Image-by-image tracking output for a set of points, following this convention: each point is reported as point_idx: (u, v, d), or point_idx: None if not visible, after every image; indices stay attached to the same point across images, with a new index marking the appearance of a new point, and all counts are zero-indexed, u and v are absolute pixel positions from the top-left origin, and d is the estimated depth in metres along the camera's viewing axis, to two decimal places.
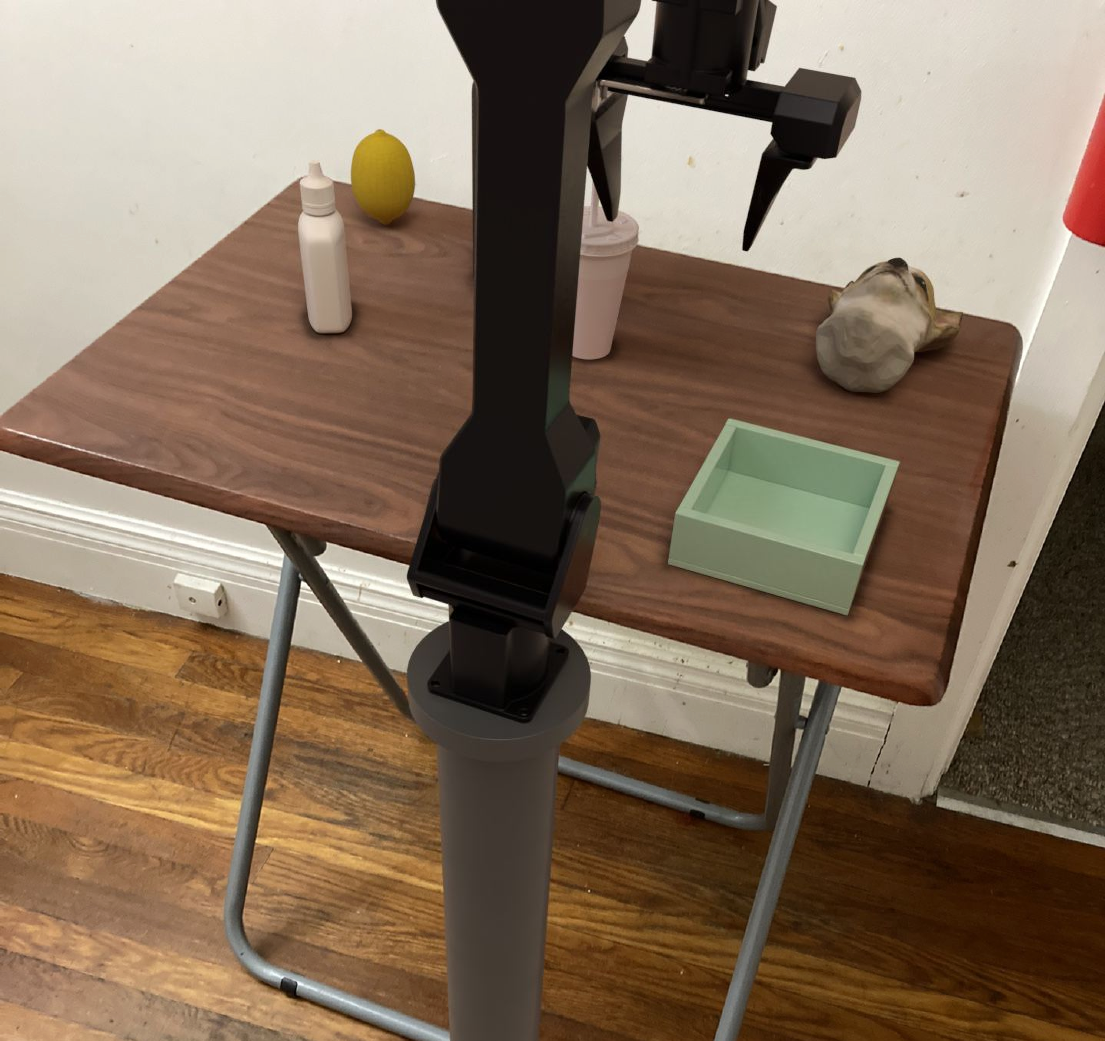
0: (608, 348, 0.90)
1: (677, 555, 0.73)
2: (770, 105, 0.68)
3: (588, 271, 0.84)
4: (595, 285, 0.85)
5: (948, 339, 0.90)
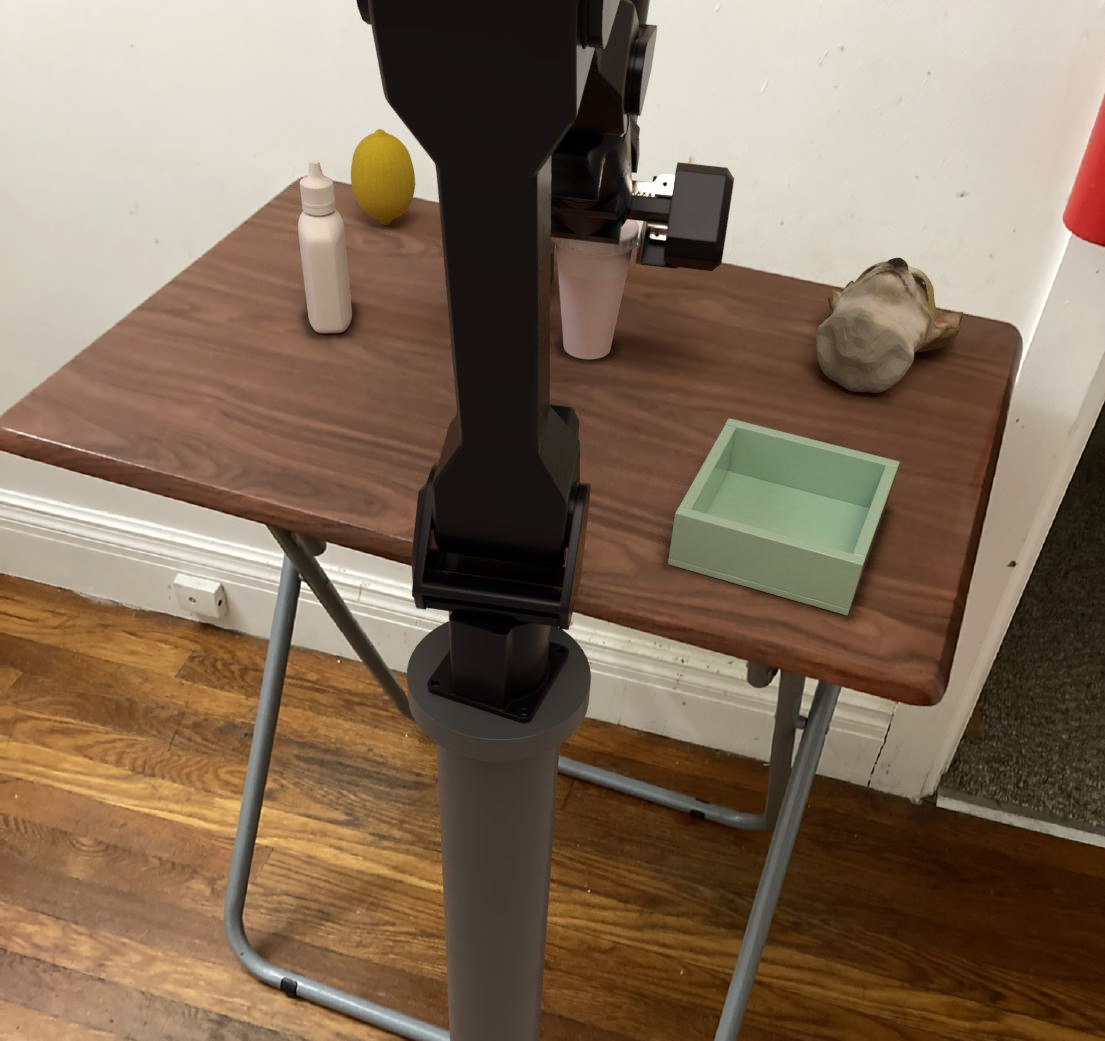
0: (608, 348, 0.90)
1: (677, 555, 0.73)
2: (657, 218, 0.78)
3: (587, 271, 0.84)
4: (595, 285, 0.85)
5: (948, 339, 0.90)
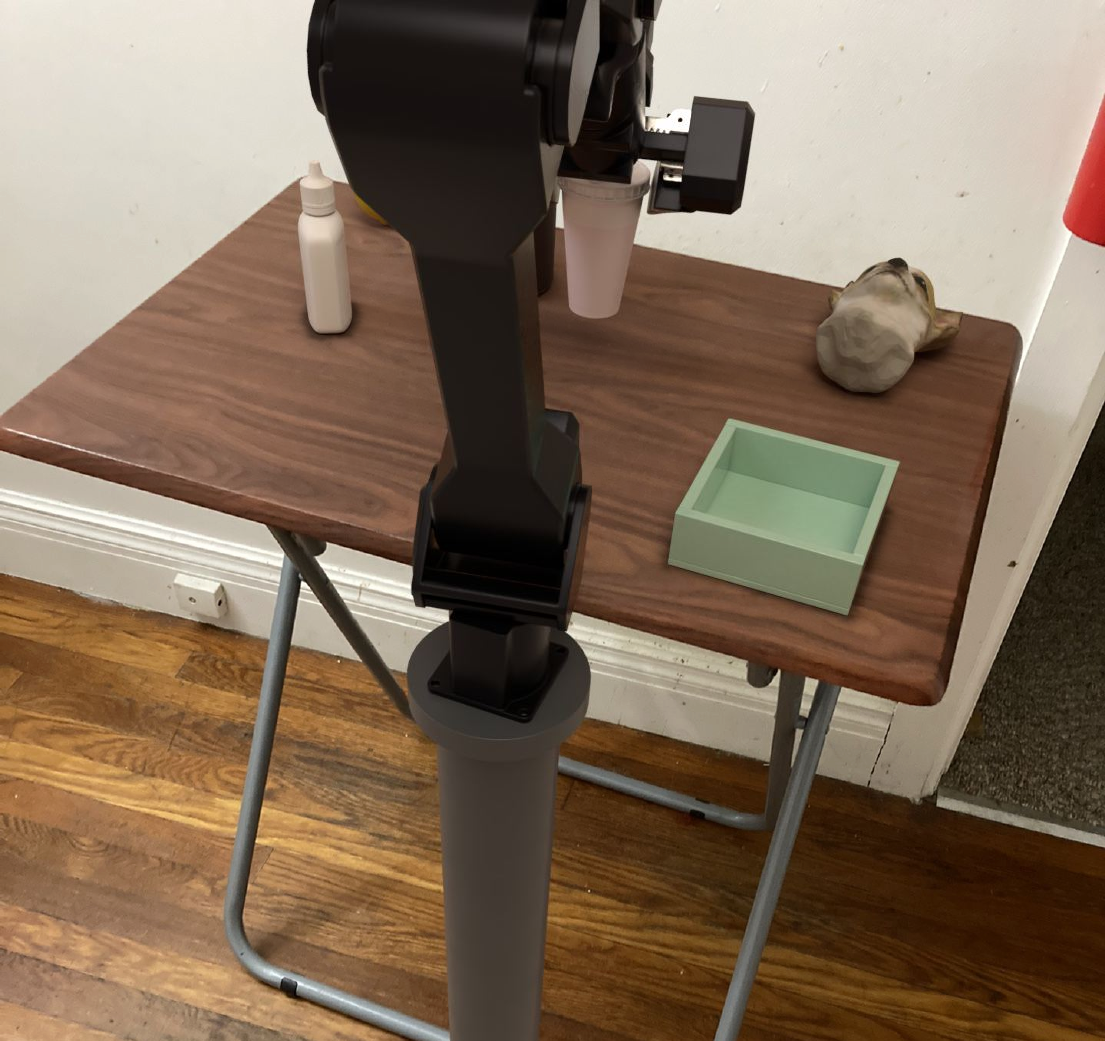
0: (616, 307, 0.84)
1: (677, 555, 0.73)
2: (672, 156, 0.72)
3: (596, 219, 0.78)
4: (603, 235, 0.79)
5: (948, 339, 0.90)
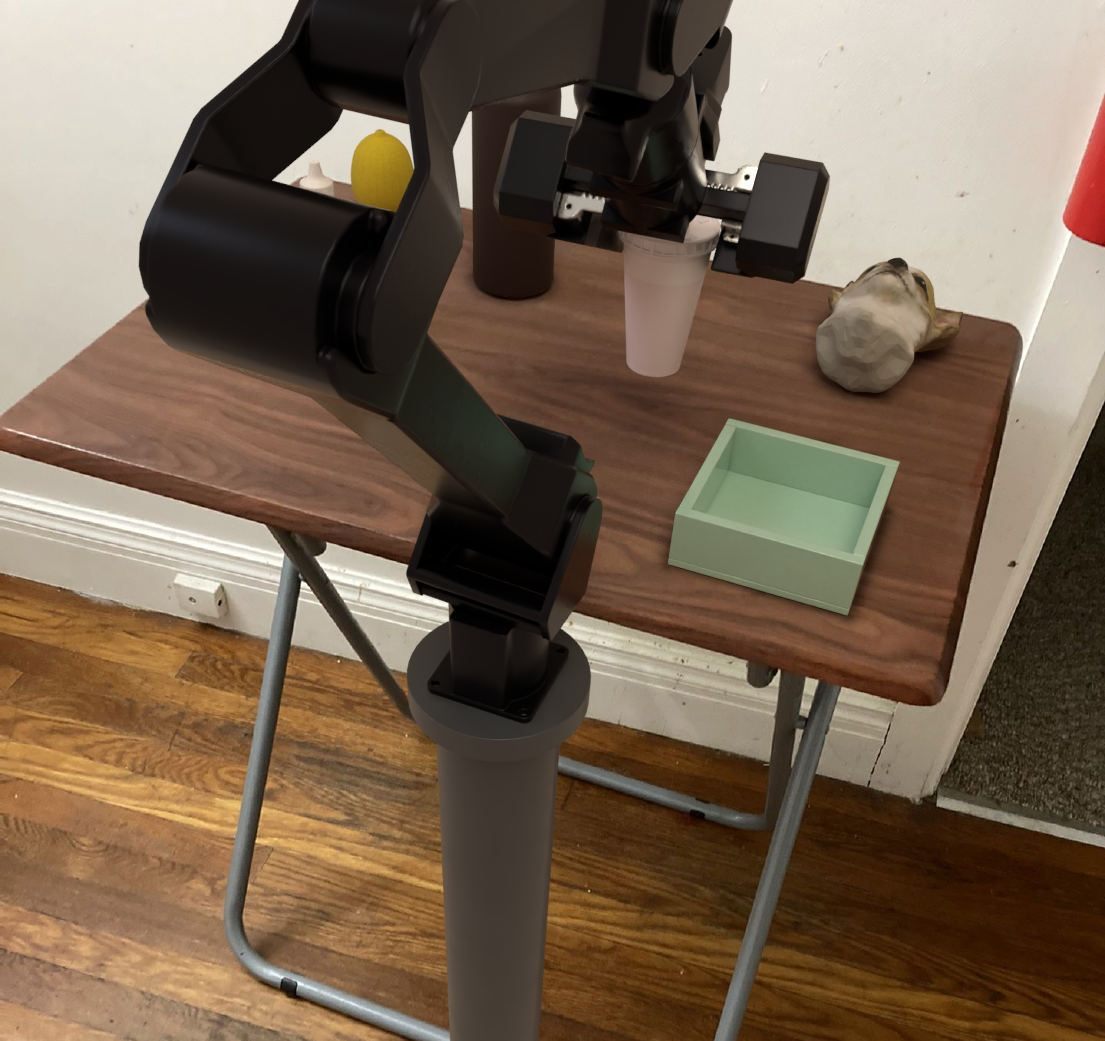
0: (676, 366, 0.78)
1: (677, 555, 0.73)
2: (733, 216, 0.66)
3: (654, 274, 0.72)
4: (662, 291, 0.73)
5: (948, 339, 0.90)
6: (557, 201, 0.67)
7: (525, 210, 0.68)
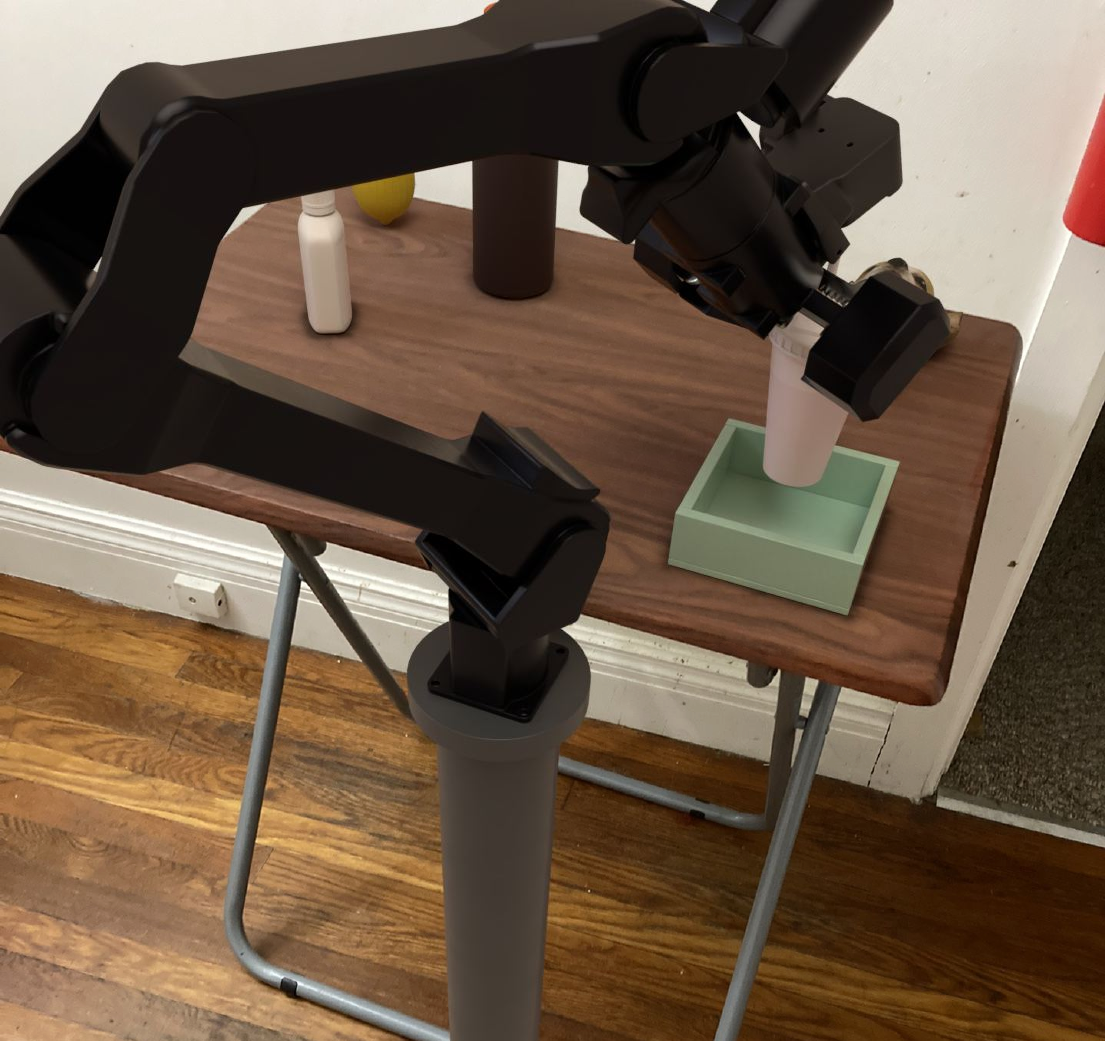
0: (804, 480, 0.70)
1: (677, 555, 0.73)
2: None
3: (782, 371, 0.65)
4: (788, 392, 0.66)
5: (948, 339, 0.90)
6: None
7: (651, 261, 0.64)
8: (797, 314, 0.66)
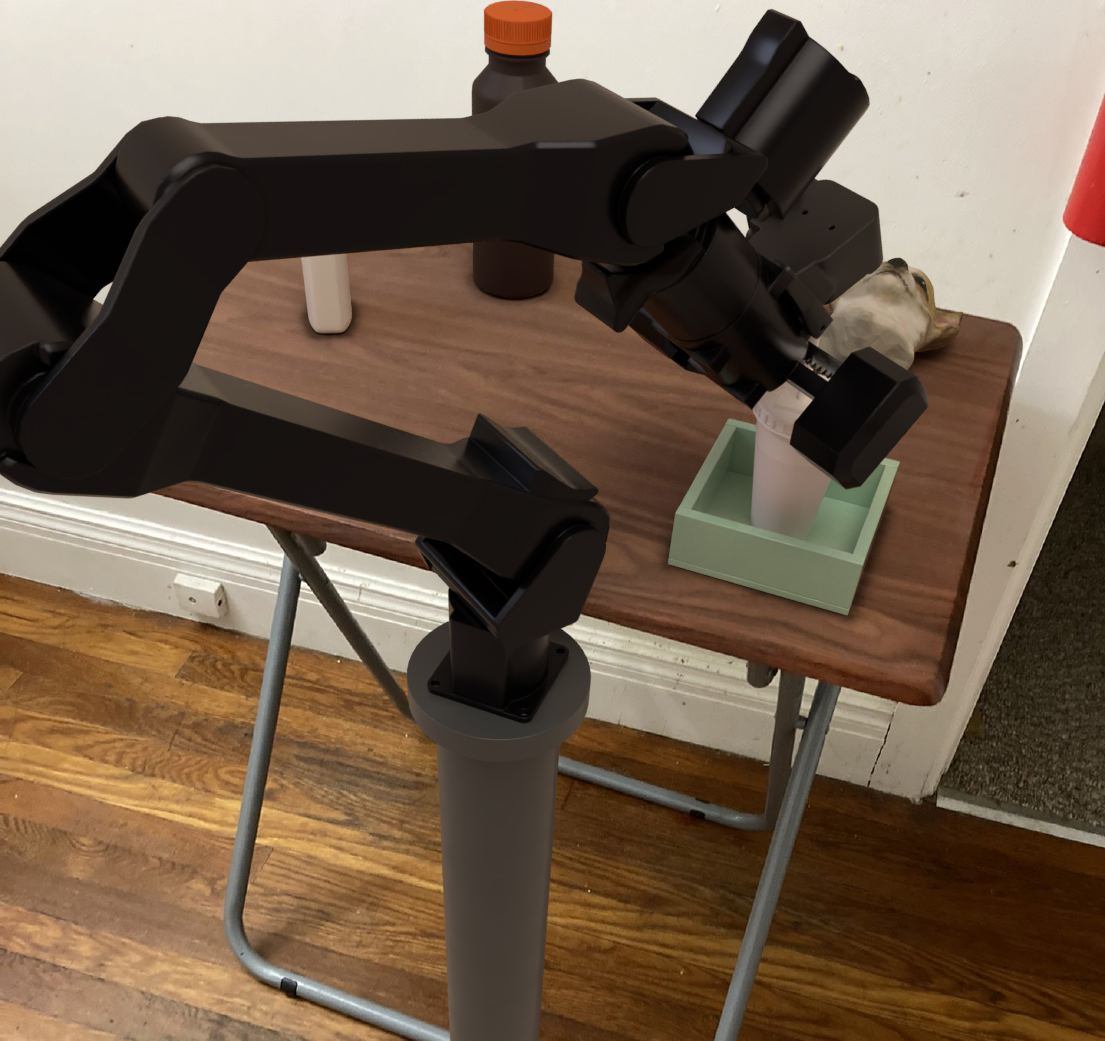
0: None
1: (677, 555, 0.73)
2: None
3: (766, 444, 0.69)
4: (771, 463, 0.70)
5: (948, 339, 0.90)
6: None
7: (645, 329, 0.67)
8: (780, 390, 0.69)
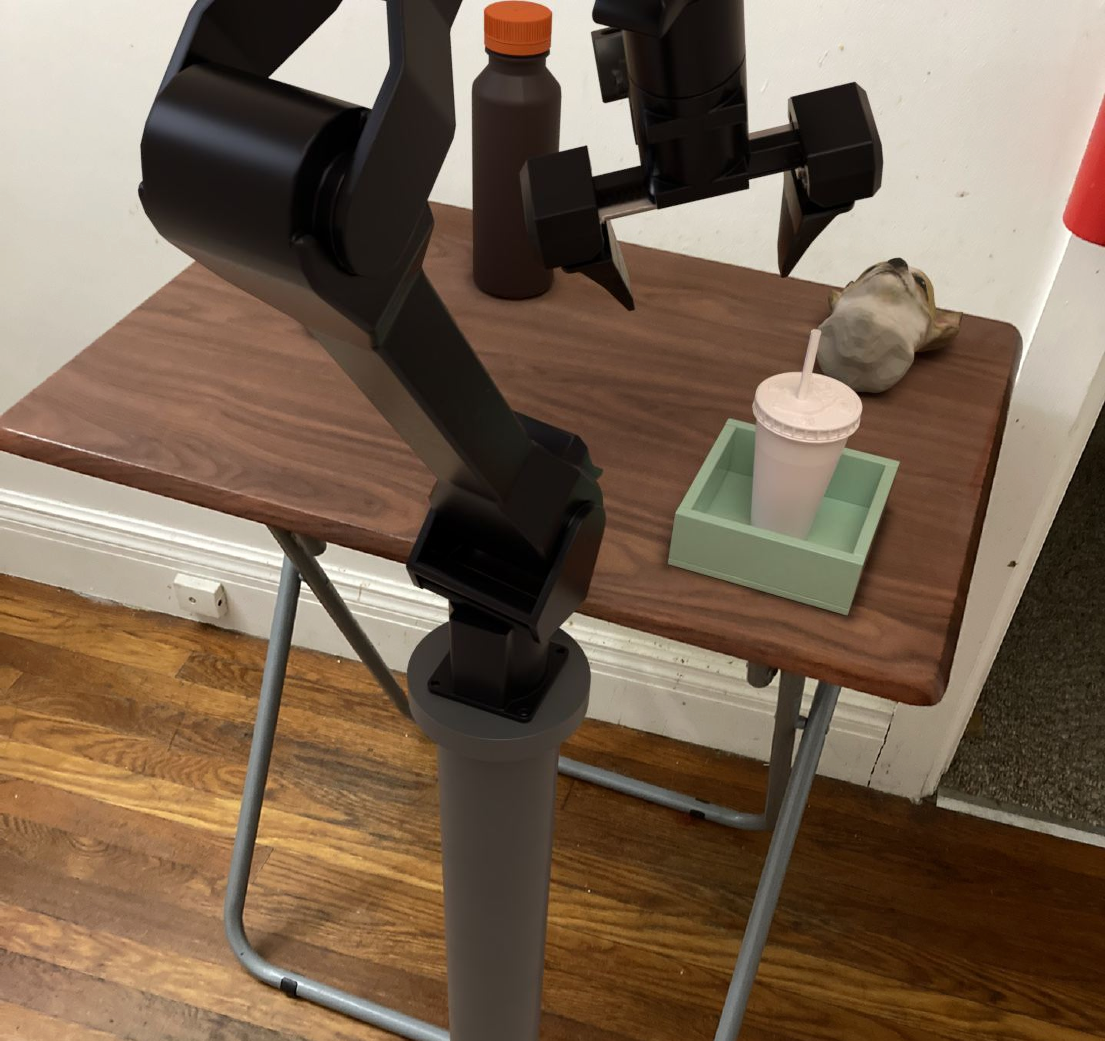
0: None
1: (677, 555, 0.73)
2: (784, 158, 0.61)
3: (766, 444, 0.69)
4: (771, 463, 0.70)
5: (948, 339, 0.90)
6: None
7: (568, 228, 0.61)
8: (780, 390, 0.69)
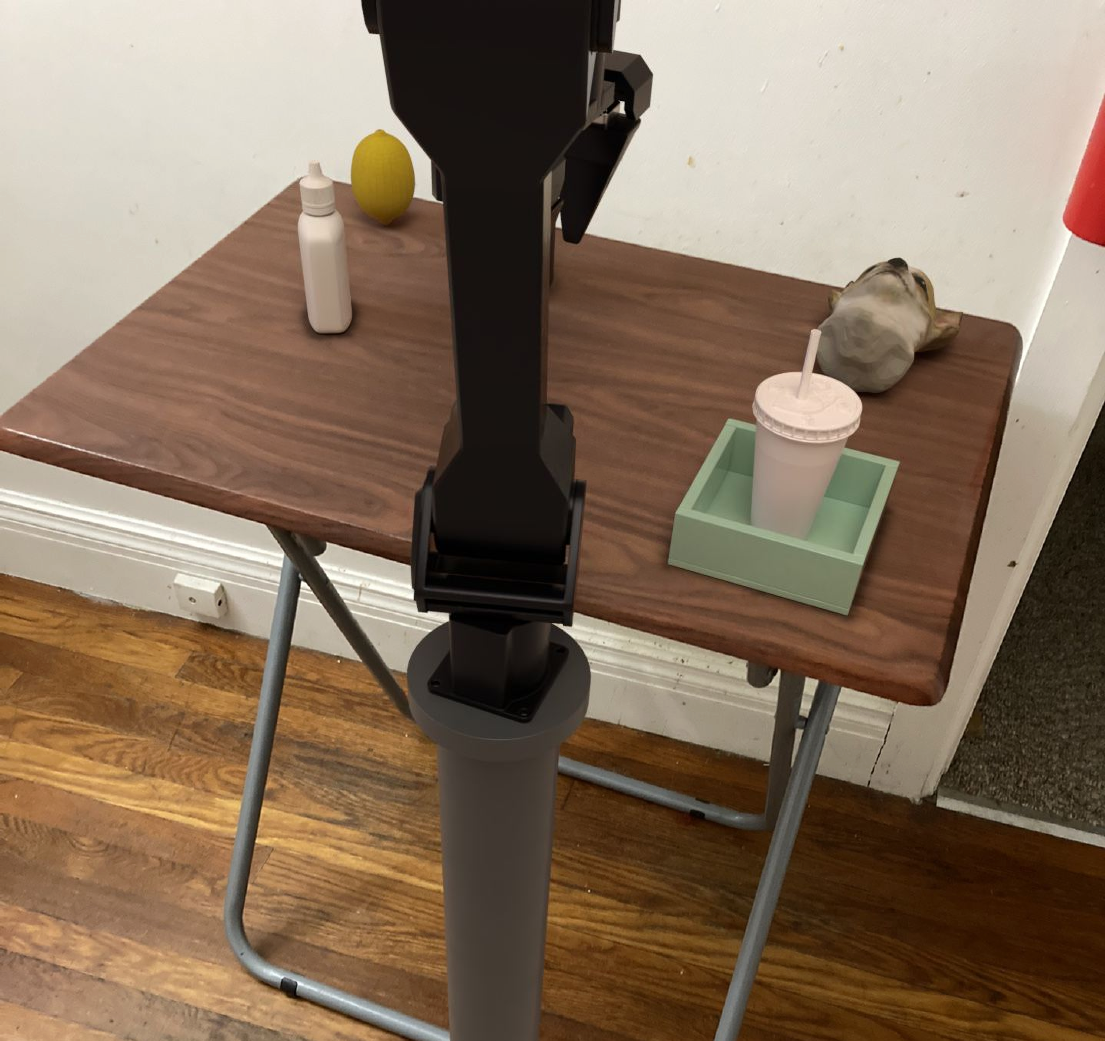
0: None
1: (677, 555, 0.73)
2: None
3: (766, 444, 0.69)
4: (771, 463, 0.70)
5: (948, 339, 0.90)
6: None
7: None
8: (780, 390, 0.69)
